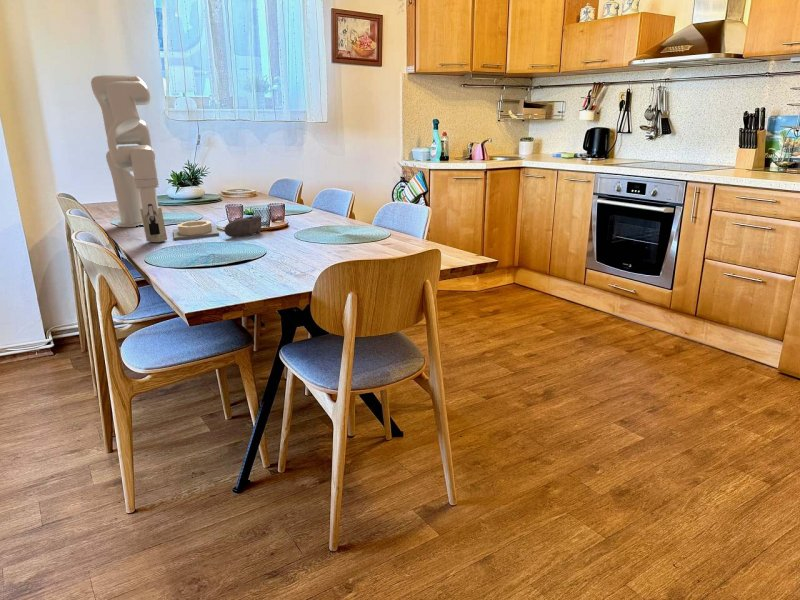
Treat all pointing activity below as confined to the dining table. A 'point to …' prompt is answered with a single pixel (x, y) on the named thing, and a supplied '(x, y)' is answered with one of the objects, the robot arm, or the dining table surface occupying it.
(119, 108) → the robot arm
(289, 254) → the dining table surface
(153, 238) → the skincare box
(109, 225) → the dining table surface
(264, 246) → the dining table surface
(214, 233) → the collar board
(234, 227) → the perforated stone tool
